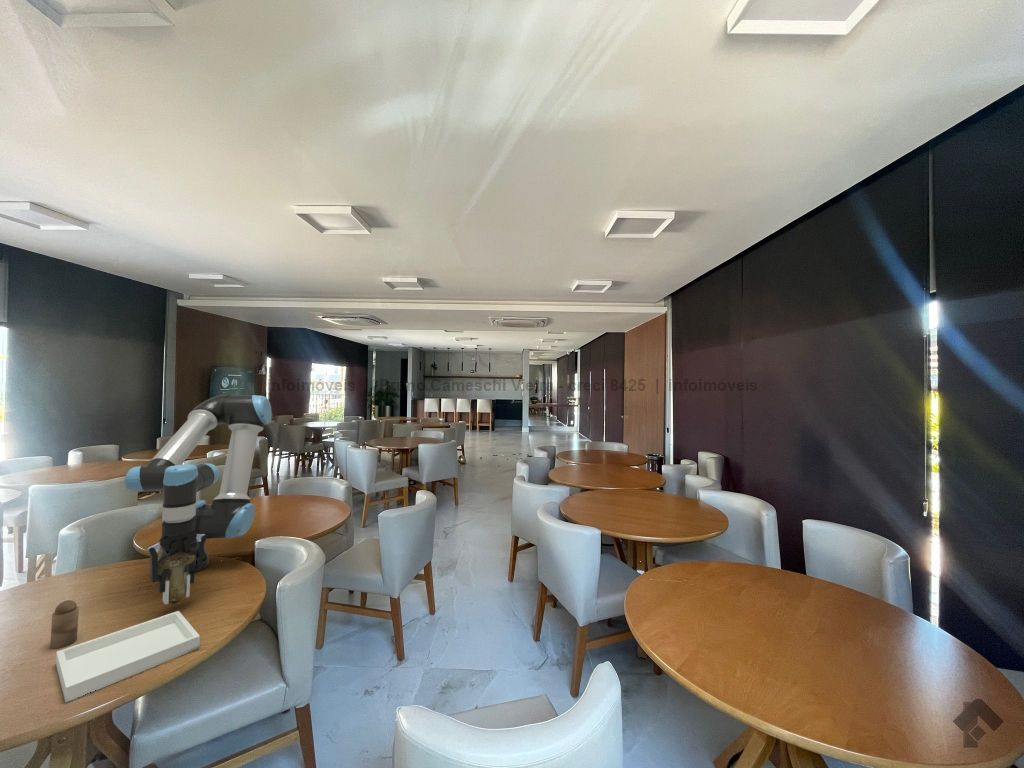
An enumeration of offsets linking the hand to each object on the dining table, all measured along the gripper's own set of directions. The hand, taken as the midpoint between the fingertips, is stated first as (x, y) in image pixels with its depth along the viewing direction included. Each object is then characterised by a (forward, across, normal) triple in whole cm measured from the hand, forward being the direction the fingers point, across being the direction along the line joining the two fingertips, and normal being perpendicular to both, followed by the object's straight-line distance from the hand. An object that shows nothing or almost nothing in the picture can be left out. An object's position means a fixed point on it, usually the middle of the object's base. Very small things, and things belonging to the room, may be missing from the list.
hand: (176, 598), depth 114 cm
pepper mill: (+3, +21, -2) cm, 22 cm away
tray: (+3, +12, +18) cm, 22 cm away
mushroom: (+1, 0, 0) cm, 1 cm away
